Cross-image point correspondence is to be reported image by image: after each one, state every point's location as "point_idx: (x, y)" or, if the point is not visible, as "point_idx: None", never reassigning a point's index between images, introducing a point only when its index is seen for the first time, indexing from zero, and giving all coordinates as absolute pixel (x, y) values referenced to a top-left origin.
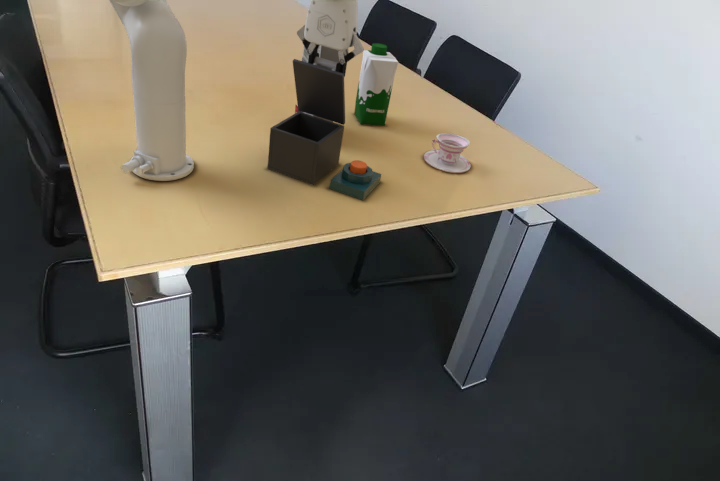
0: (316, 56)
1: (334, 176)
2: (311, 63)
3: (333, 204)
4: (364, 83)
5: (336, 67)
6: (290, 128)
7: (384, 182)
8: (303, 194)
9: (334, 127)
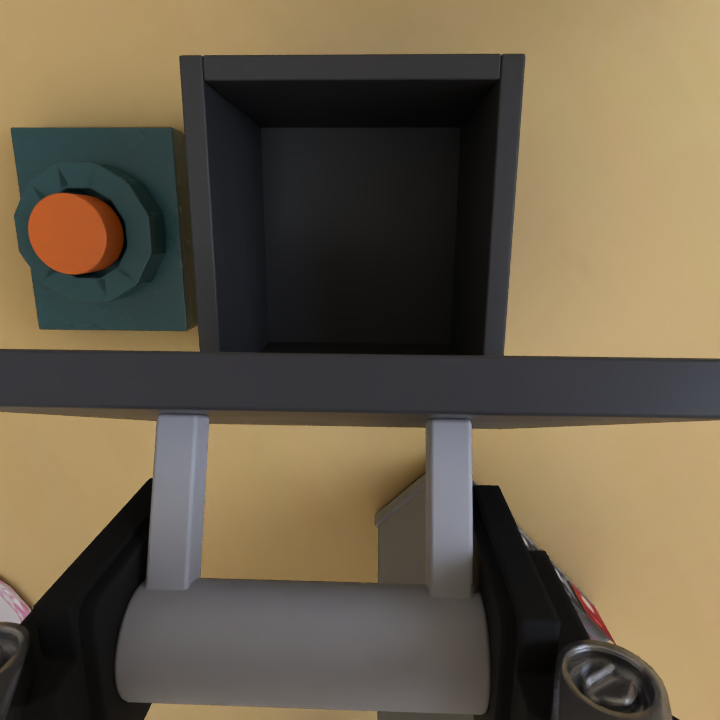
0: (490, 702)
1: (174, 169)
2: (495, 551)
3: (109, 19)
4: None
5: (110, 569)
6: (475, 281)
7: (51, 336)
8: (245, 11)
9: None
